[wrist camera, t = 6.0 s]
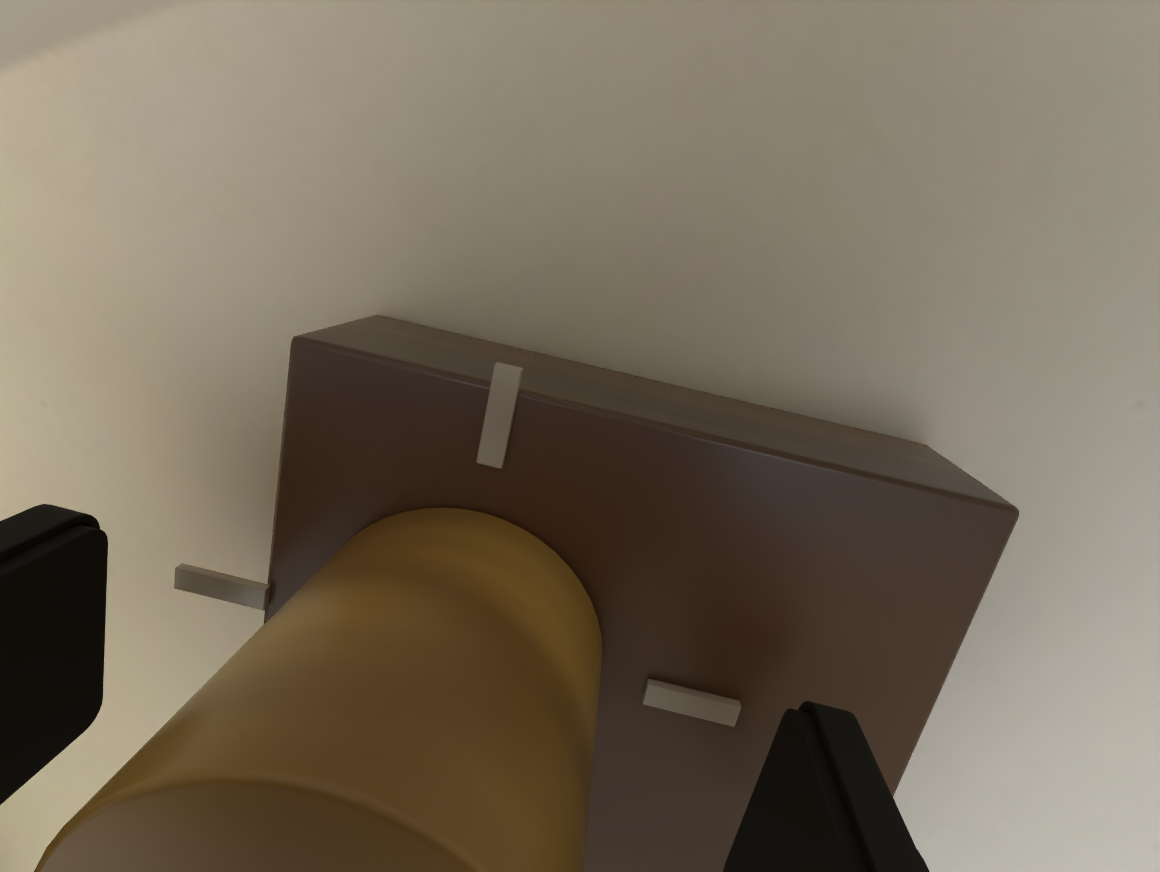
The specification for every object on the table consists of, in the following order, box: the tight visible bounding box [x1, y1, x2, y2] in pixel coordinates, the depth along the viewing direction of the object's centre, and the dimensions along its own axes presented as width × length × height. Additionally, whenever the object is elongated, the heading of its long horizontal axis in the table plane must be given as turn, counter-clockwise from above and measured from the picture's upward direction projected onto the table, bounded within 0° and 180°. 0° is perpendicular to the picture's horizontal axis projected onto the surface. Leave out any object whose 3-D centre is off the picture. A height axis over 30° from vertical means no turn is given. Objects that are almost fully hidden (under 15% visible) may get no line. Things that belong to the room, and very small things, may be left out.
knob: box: [34, 508, 603, 872], centre depth 7 cm, size 4×4×5 cm
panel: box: [174, 315, 1019, 872], centre depth 12 cm, size 12×11×3 cm
